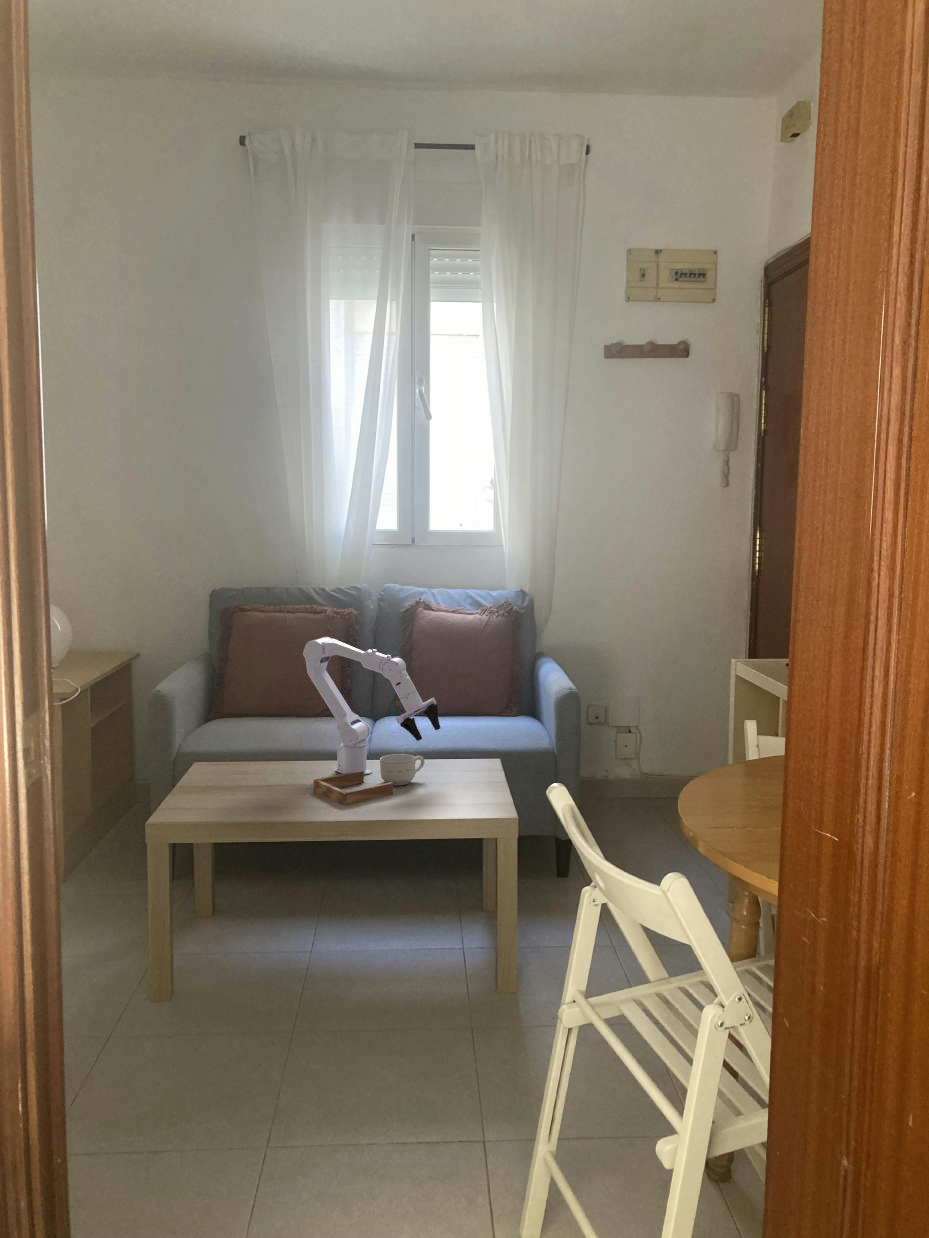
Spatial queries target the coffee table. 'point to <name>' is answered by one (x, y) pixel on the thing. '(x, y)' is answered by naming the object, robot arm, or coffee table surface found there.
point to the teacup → (399, 768)
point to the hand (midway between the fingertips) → (429, 734)
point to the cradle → (331, 791)
